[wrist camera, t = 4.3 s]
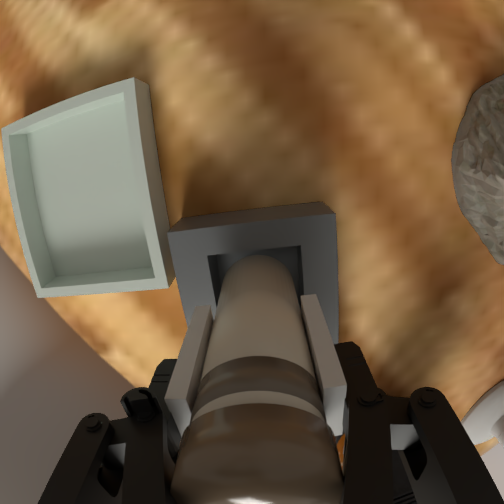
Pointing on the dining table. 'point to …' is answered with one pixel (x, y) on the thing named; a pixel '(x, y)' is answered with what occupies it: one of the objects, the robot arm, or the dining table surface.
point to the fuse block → (258, 253)
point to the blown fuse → (258, 402)
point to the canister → (401, 486)
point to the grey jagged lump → (482, 165)
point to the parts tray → (90, 194)
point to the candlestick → (486, 417)
